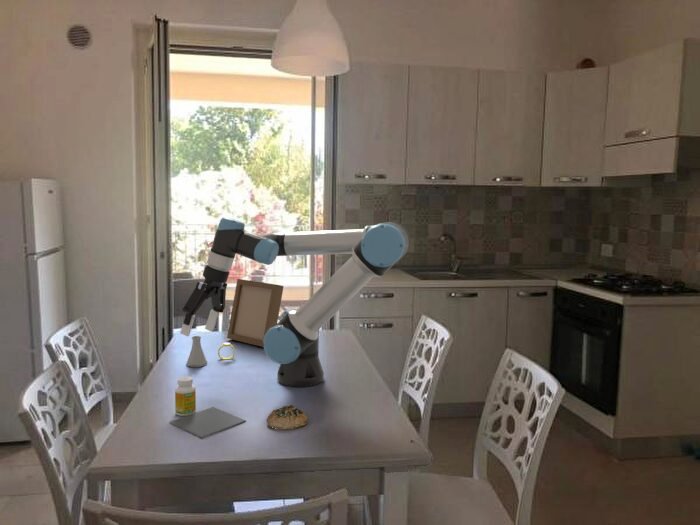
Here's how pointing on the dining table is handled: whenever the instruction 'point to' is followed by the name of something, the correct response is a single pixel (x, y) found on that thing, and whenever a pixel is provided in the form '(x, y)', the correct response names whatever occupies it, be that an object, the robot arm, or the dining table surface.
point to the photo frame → (254, 311)
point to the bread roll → (286, 418)
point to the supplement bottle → (185, 397)
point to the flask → (196, 354)
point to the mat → (207, 422)
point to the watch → (226, 345)
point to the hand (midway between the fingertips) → (197, 332)
